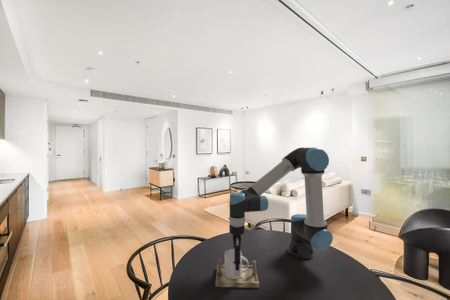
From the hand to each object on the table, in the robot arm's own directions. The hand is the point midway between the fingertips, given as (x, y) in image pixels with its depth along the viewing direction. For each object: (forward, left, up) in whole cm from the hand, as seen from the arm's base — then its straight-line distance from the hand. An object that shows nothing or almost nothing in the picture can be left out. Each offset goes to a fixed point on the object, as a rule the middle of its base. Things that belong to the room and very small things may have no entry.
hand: (236, 268), depth 101 cm
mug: (0, 0, -3) cm, 3 cm away
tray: (0, 0, -5) cm, 5 cm away
